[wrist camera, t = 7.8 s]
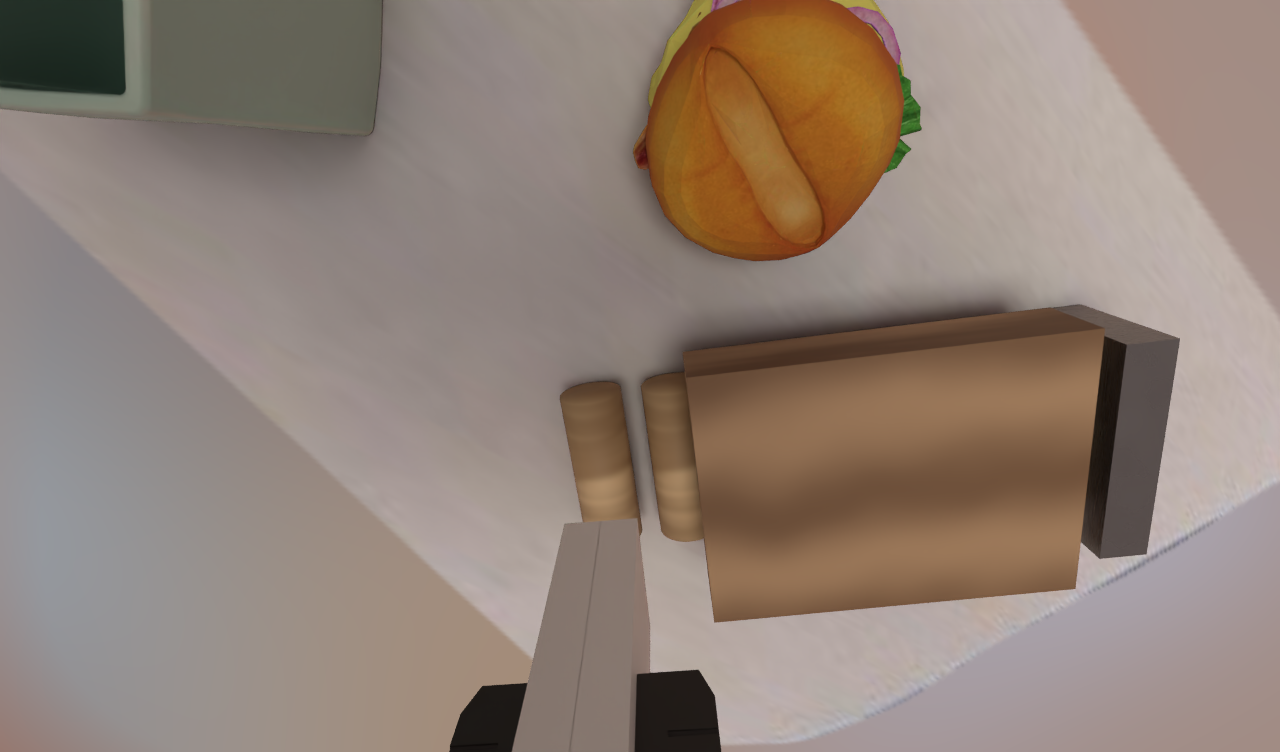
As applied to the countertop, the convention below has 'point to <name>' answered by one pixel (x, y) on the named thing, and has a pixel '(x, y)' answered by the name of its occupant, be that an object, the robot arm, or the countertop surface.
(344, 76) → the planter
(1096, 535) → the stop rail
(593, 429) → the cylinder
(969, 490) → the board
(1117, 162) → the countertop surface
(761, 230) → the cheeseburger
